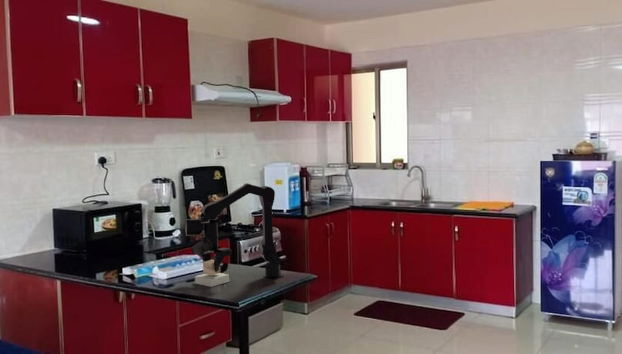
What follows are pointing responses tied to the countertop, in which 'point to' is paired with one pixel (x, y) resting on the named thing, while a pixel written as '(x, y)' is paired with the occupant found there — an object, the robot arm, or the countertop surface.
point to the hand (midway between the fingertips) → (211, 270)
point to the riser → (211, 279)
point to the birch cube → (209, 268)
